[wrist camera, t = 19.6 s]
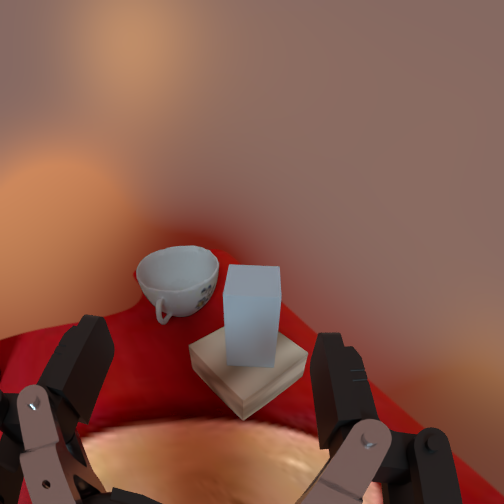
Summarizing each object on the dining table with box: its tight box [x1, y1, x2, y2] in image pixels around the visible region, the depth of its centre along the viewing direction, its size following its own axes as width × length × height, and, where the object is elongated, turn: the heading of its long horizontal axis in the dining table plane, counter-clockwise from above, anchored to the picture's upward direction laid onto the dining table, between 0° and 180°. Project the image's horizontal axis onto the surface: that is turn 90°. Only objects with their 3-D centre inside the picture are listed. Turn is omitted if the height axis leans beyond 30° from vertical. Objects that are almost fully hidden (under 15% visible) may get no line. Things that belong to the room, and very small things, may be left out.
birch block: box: [188, 326, 308, 420], centre depth 35 cm, size 10×10×5 cm
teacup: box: [136, 246, 219, 324], centre depth 44 cm, size 15×12×8 cm
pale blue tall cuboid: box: [223, 265, 281, 368], centre depth 31 cm, size 5×5×10 cm
